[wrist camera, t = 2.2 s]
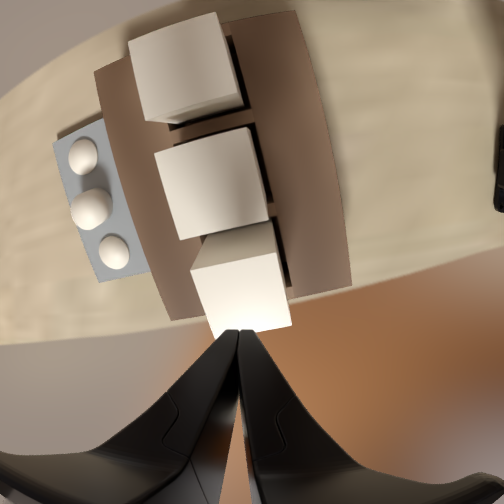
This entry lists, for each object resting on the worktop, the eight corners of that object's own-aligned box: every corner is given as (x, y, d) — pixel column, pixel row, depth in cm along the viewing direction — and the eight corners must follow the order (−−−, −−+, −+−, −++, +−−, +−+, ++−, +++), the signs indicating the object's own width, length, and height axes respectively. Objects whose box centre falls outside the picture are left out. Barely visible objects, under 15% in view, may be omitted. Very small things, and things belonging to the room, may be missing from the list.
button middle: (250, 130, 14) (246, 127, 9) (265, 192, 15) (268, 219, 10) (187, 147, 14) (153, 153, 10) (203, 207, 15) (179, 240, 11)
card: (110, 116, 16) (92, 116, 13) (156, 267, 19) (145, 282, 17) (57, 142, 16) (37, 145, 14) (102, 279, 20) (88, 294, 17)
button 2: (270, 215, 15) (275, 252, 11) (283, 271, 17) (292, 325, 12) (210, 229, 16) (190, 270, 11) (226, 283, 17) (214, 338, 12)
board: (288, 32, 14) (294, 10, 10) (337, 259, 19) (352, 285, 15) (121, 80, 15) (93, 71, 11) (184, 290, 20) (171, 320, 16)
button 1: (229, 48, 12) (215, 11, 8) (244, 107, 13) (237, 92, 9) (166, 67, 13) (127, 41, 8) (181, 124, 14) (145, 120, 9)
